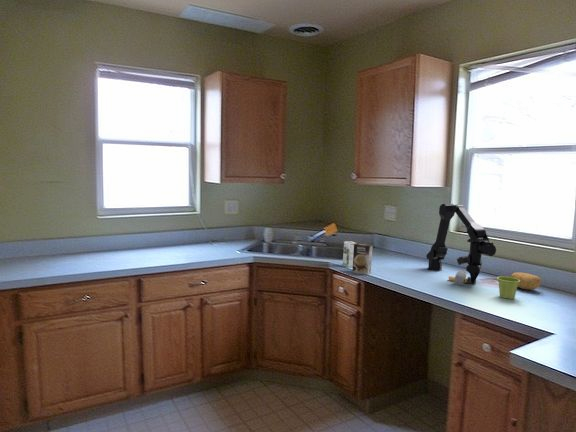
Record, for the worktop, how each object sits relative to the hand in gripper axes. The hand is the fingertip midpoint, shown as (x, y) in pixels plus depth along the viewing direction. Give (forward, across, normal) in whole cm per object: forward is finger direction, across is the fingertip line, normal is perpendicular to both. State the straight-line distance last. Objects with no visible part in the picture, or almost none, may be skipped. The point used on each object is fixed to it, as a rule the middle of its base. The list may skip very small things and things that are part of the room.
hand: (473, 281), depth 212 cm
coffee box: (+1, +11, -56) cm, 57 cm away
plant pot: (+1, +16, +16) cm, 22 cm away
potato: (+1, -5, +23) cm, 24 cm away
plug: (+1, 0, -5) cm, 5 cm away
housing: (+1, 0, -6) cm, 6 cm away
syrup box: (+1, 0, -67) cm, 67 cm away
